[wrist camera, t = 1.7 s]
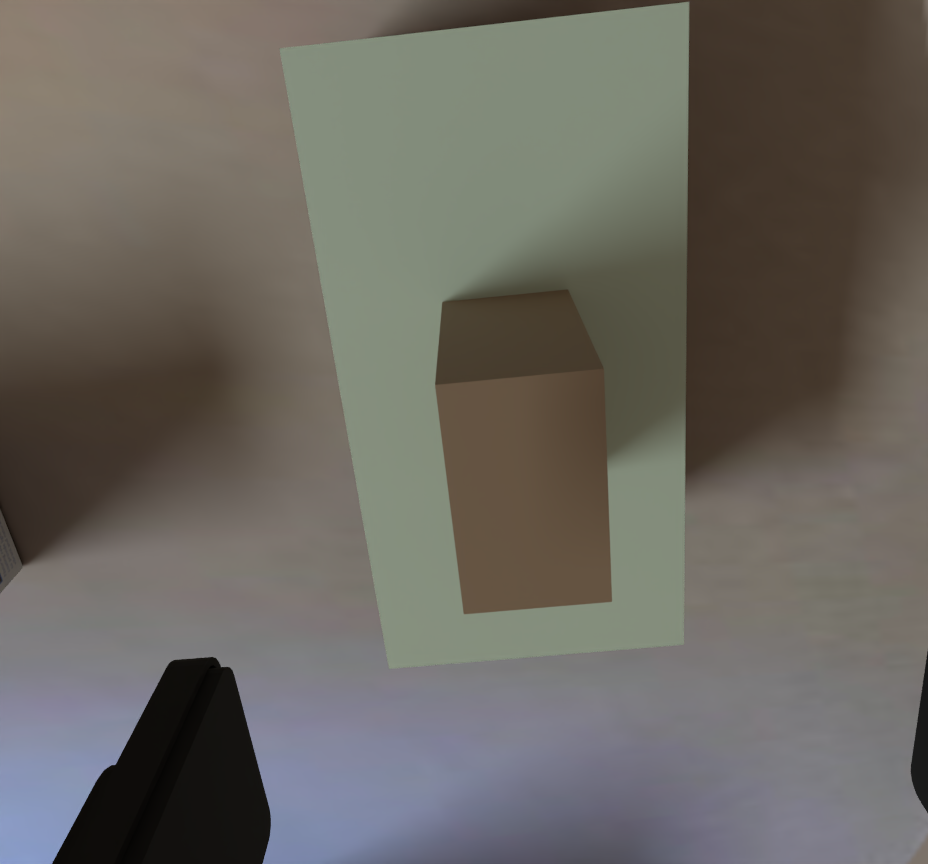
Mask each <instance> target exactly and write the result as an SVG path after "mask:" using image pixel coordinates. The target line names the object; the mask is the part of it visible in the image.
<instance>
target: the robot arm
mask: <svg viewBox="0 0 928 864" xmlns="http://www.w3.org/2000/svg"><path fill="white" fill-rule="evenodd" d="M911 777H912V782H913V786H914V789H915V791H916V794H917V796H918V798H919V800H920V801H921V803H922V805H923V806H924V808H925V809H926V811H927V813H928V653H927V660H926V667H925V673H924V680H923V687H922V694H921V701H920V708H919V715H918V722H917V728H916V735H915V742H914V749H913V756H912V763H911ZM270 828H271V818H270V810H269V805H268V802H267V798H266V794H265V790H264V787H263V783H262V779H261V775H260V771H259V768H258V764H257V760H256V756H255V753H254V749H253V745H252V741H251V737H250V734H249V730H248V726H247V722H246V718H245V715H244V711H243V707H242V703H241V700H240V696H239V692H238V688H237V684H236V681H235V677H234V674H233V671H232V670H231V668H230V667H221V666H220V664H219V662H218V660H217V659H216V658H213V657H208V658H195V659H182V660H174V661H172V662H170V663H169V665H168V666H167V668H166V670H165V672H164V673H163V675H162V677H161V679H160V681H159V683H158V685H157V687H156V689H155V691H154V693H153V694H152V696H151V698H150V700H149V702H148V704H147V706H146V708H145V710H144V712H143V714H142V715H141V717H140V719H139V721H138V723H137V725H136V727H135V729H134V731H133V733H132V735H131V737H130V738H129V740H128V742H127V744H126V746H125V748H124V750H123V752H122V754H121V756H120V758H119V759H118V761H117V763H116V765H111V766H110V767H108V768H107V769H106V770H104V771H103V773H102V774H101V775H100V777H99V778H98V780H97V781H96V783H95V785H94V787H93V789H92V791H91V792H90V794H89V796H88V798H87V800H86V802H85V804H84V805H83V807H82V809H81V811H80V813H79V815H78V817H77V818H76V820H75V822H74V824H73V826H72V828H71V830H70V832H69V833H68V835H67V837H66V839H65V841H64V843H63V845H62V846H61V848H60V850H59V852H58V854H57V856H56V858H55V859H54V861H53V863H52V864H262V863H263V860H264V856H265V852H266V849H267V845H268V841H269V836H270Z"/></svg>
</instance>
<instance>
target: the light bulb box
mask: <svg viewBox="0 0 928 864" xmlns="http://www.w3.org/2000/svg"><path fill="white" fill-rule="evenodd" d="M21 569H22V563H21V561H20V558H19V556H18V553H17V550H16V548H15V545H14V543H13V540H12V538H11V535H10V533H9V530H8V528H7V525H6V522H5V520H4V517H3V515H2V512H1V510H0V593H1V592H2V591H3V589H4V588H5V587H6V586H7V585H8V584H9V583H10V581H11V580H12V579H13V578H14V577H15V576H16V575H17V574H18V572H19V571H20V570H21Z"/></svg>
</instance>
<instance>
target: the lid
mask: <svg viewBox="0 0 928 864" xmlns="http://www.w3.org/2000/svg"><path fill="white" fill-rule="evenodd" d="M280 54H281V60H282V66H283V71H284V77H285V83H286V88H287V94H288V100H289V105H290V111H291V117H292V122H293V128H294V134H295V139H296V145H297V151H298V156H299V162H300V168H301V173H302V179H303V185H304V190H305V196H306V202H307V207H308V213H309V218H310V224H311V230H312V235H313V241H314V247H315V252H316V258H317V264H318V269H319V275H320V281H321V286H322V292H323V298H324V303H325V309H326V315H327V320H328V326H329V332H330V337H331V343H332V349H333V354H334V360H335V366H336V371H337V377H338V383H339V388H340V394H341V400H342V405H343V411H344V417H345V422H346V428H347V434H348V439H349V445H350V451H351V456H352V462H353V468H354V473H355V479H356V485H357V490H358V496H359V502H360V507H361V513H362V519H363V524H364V530H365V536H366V541H367V547H368V553H369V558H370V564H371V570H372V575H373V581H374V586H375V592H376V598H377V603H378V609H379V615H380V620H381V626H382V632H383V637H384V643H385V649H386V654H387V660H388V666H389V669H393V668H405V667H418V666H430V665H442V664H454V663H466V662H479V661H491V660H503V659H515V658H527V657H539V656H552V655H564V654H576V653H588V652H600V651H613V650H625V649H637V648H649V647H661V646H674V645H684V558H685V440H686V321H687V203H688V85H689V2H683V3H674V4H665V5H657V6H648V7H639V8H630V9H622V10H613V11H604V12H595V13H587V14H578V15H569V16H560V17H552V18H543V19H534V20H525V21H517V22H508V23H499V24H490V25H482V26H473V27H464V28H455V29H447V30H438V31H429V32H420V33H412V34H403V35H394V36H385V37H377V38H368V39H359V40H350V41H342V42H333V43H324V44H315V45H307V46H298V47H289V48H280Z"/></svg>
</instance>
